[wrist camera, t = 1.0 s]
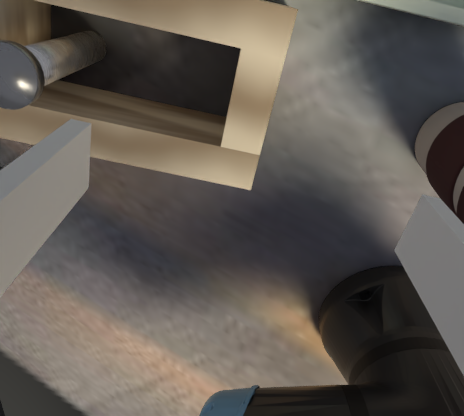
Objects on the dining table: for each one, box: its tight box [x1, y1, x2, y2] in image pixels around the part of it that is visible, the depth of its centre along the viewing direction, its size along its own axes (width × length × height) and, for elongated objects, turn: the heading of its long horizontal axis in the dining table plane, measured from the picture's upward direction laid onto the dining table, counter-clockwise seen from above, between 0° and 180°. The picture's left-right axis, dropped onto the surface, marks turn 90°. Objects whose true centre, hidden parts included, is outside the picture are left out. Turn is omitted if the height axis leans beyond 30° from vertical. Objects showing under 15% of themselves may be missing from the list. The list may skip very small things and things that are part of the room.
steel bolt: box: [0, 31, 107, 110], centre depth 28 cm, size 4×4×14 cm
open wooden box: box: [0, 0, 298, 190], centre depth 31 cm, size 13×22×8 cm, turn 78°
